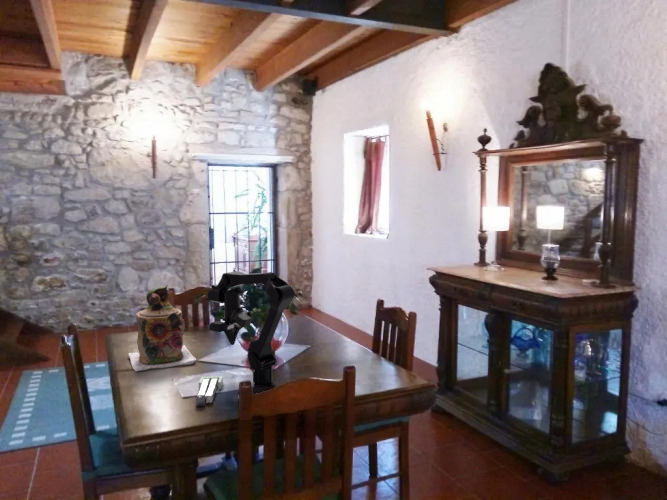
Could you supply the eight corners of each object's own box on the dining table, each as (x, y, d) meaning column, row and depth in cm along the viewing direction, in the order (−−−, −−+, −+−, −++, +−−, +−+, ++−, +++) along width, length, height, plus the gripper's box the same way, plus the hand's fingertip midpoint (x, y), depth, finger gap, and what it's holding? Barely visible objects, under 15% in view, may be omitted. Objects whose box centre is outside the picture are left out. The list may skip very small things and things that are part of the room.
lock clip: (222, 382, 196) (222, 376, 196) (220, 388, 190) (220, 382, 190) (201, 383, 195) (201, 377, 195) (198, 389, 189) (198, 382, 189)
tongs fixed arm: (217, 385, 194) (217, 378, 193) (211, 402, 177) (211, 395, 177) (212, 385, 193) (211, 378, 193) (205, 402, 177) (205, 395, 177)
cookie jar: (126, 356, 229) (124, 283, 225) (185, 349, 240) (183, 279, 237) (134, 373, 207) (131, 292, 204) (198, 364, 218) (196, 287, 215)
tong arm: (210, 385, 193) (210, 377, 193) (204, 406, 174) (204, 398, 174) (202, 385, 193) (202, 378, 193) (195, 406, 174) (195, 398, 173)
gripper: (229, 311, 190) (230, 354, 192) (264, 303, 206) (264, 342, 207) (207, 307, 197) (208, 349, 198) (243, 299, 212) (243, 338, 214)
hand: (232, 344), depth 204 cm, fingers closed
